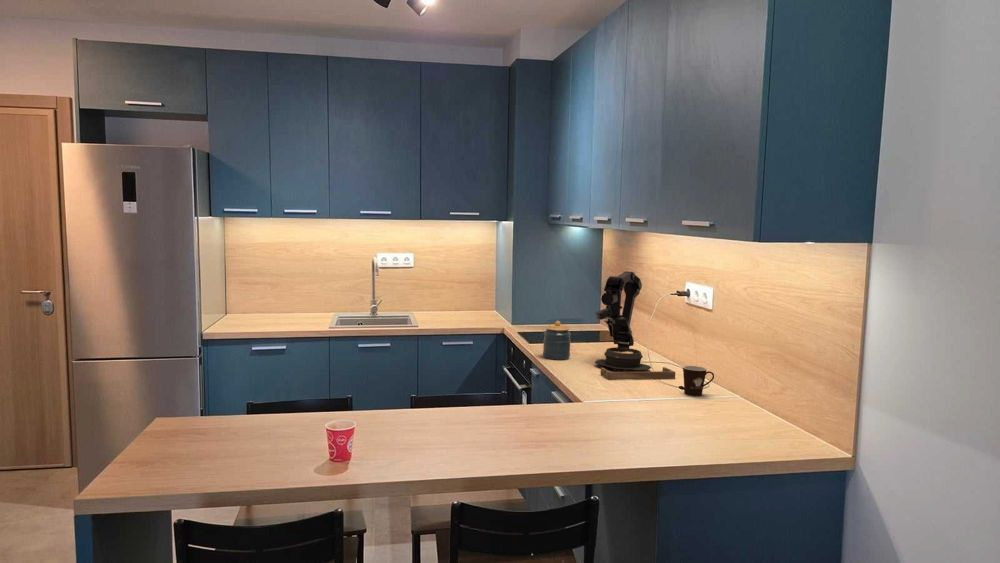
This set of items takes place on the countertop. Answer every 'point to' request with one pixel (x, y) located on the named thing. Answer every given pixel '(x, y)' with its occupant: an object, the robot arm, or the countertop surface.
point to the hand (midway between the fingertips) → (612, 337)
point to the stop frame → (639, 374)
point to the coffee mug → (694, 380)
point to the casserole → (623, 359)
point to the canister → (557, 342)
